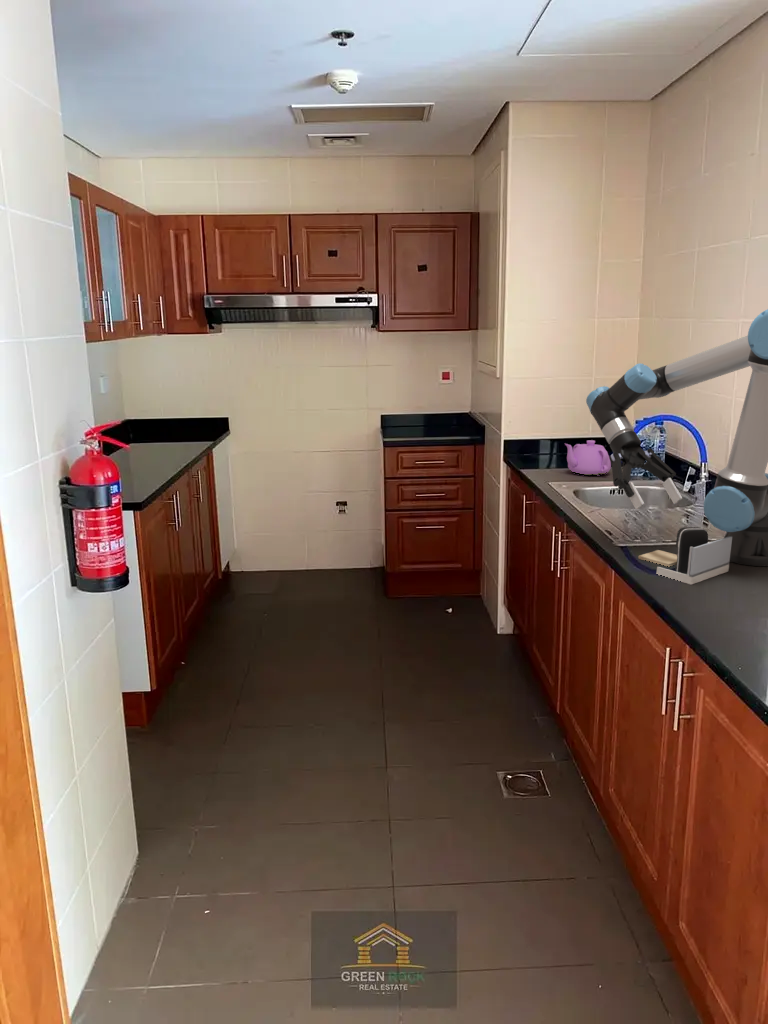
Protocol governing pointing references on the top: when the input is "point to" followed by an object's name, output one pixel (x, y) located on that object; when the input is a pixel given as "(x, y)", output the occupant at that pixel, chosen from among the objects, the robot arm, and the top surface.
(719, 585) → the top surface
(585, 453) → the teapot
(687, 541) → the battery charger
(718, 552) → the legged metal plate
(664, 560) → the oak pad
